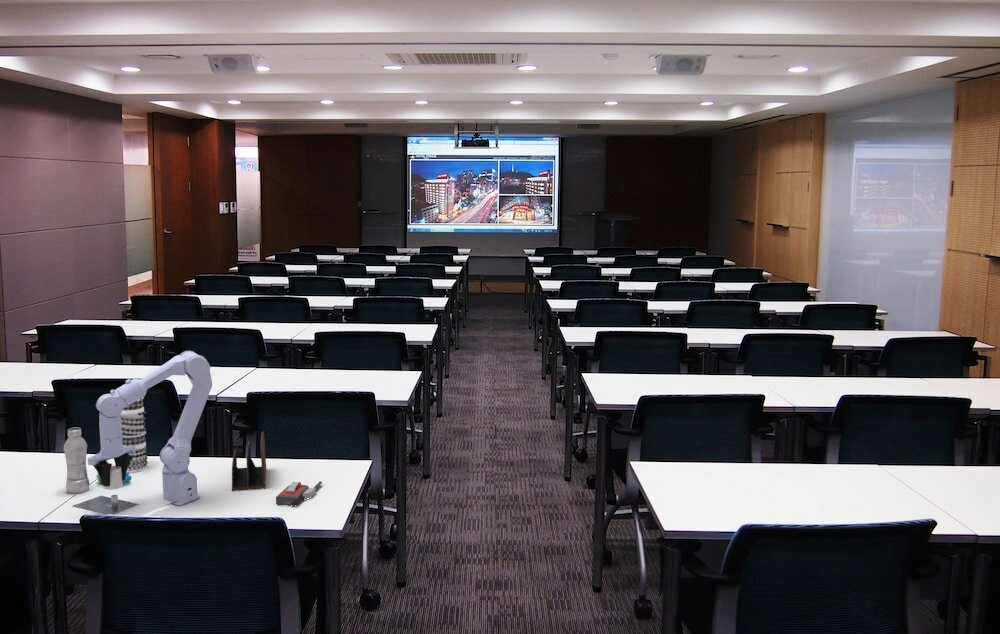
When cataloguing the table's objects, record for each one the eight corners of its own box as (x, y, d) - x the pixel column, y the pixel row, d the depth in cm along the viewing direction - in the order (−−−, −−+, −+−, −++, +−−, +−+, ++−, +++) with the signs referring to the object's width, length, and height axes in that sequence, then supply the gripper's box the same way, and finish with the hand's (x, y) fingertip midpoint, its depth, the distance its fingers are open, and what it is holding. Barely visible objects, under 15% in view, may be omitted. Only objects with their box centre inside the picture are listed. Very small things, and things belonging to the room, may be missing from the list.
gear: (138, 478, 274) (119, 463, 267) (132, 496, 271) (112, 481, 264) (109, 480, 278) (89, 465, 270) (102, 497, 274) (82, 482, 267)
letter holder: (266, 469, 290) (265, 428, 288) (265, 489, 271) (264, 444, 269) (234, 471, 288) (233, 429, 286) (231, 491, 269) (229, 447, 267)
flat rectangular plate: (139, 507, 254) (138, 492, 254) (110, 518, 245) (109, 503, 245) (101, 498, 261) (100, 484, 261) (71, 509, 252) (70, 494, 252)
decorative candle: (141, 462, 296) (137, 389, 293) (154, 468, 290) (150, 394, 287) (114, 468, 290) (110, 394, 286) (126, 474, 284) (122, 398, 280)
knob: (125, 485, 252) (124, 466, 251) (112, 490, 248) (111, 470, 247) (114, 483, 254) (113, 464, 253) (101, 488, 250) (100, 468, 249)
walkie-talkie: (302, 509, 255) (324, 486, 274) (301, 494, 254) (324, 473, 274) (273, 507, 256) (297, 485, 275) (272, 493, 255) (296, 471, 275)
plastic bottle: (64, 498, 262) (60, 432, 259) (68, 490, 268) (64, 427, 265) (88, 496, 263) (84, 431, 261) (91, 489, 270) (87, 425, 267)
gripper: (122, 428, 257) (125, 473, 259) (79, 441, 244) (82, 488, 246) (139, 431, 254) (142, 477, 255) (96, 444, 241) (99, 492, 243)
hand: (113, 483), depth 250 cm, fingers closed on knob, 4 cm apart
